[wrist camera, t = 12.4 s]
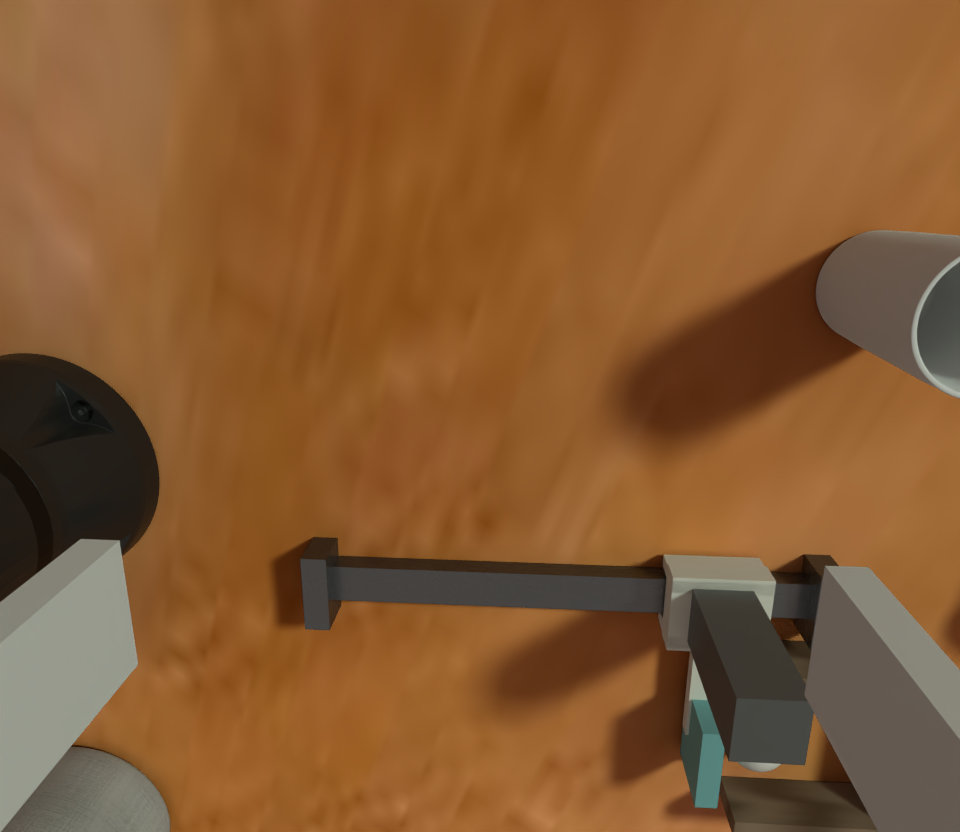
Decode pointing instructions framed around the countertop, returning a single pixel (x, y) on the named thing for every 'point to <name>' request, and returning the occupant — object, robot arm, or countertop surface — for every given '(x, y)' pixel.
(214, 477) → the countertop surface
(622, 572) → the rail
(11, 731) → the robot arm
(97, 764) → the planter
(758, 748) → the carriage
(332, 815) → the countertop surface
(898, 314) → the mug
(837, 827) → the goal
